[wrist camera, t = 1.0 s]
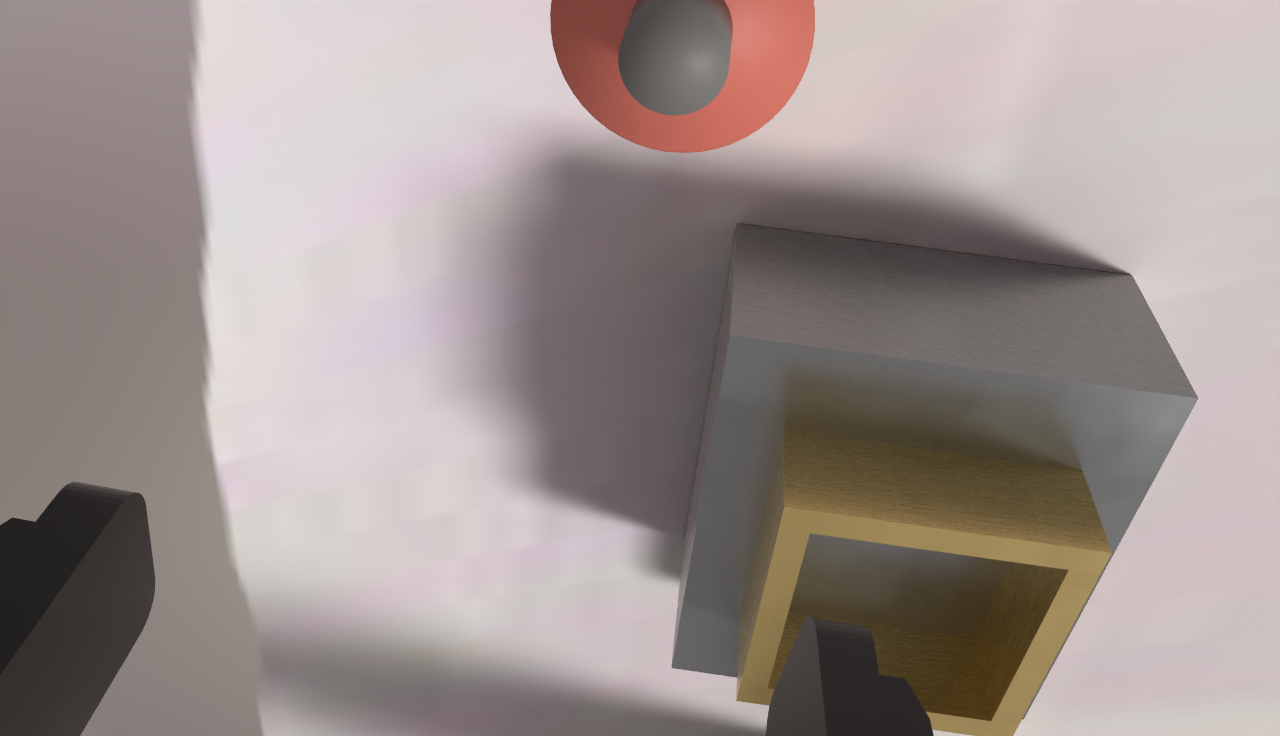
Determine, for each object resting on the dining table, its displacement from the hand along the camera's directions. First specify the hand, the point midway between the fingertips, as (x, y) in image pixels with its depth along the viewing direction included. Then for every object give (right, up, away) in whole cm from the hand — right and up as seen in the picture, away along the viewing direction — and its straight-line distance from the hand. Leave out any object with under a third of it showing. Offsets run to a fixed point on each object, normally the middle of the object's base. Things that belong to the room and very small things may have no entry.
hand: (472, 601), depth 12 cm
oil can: (+4, +15, +13) cm, 20 cm away
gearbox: (+10, 0, +24) cm, 26 cm away
